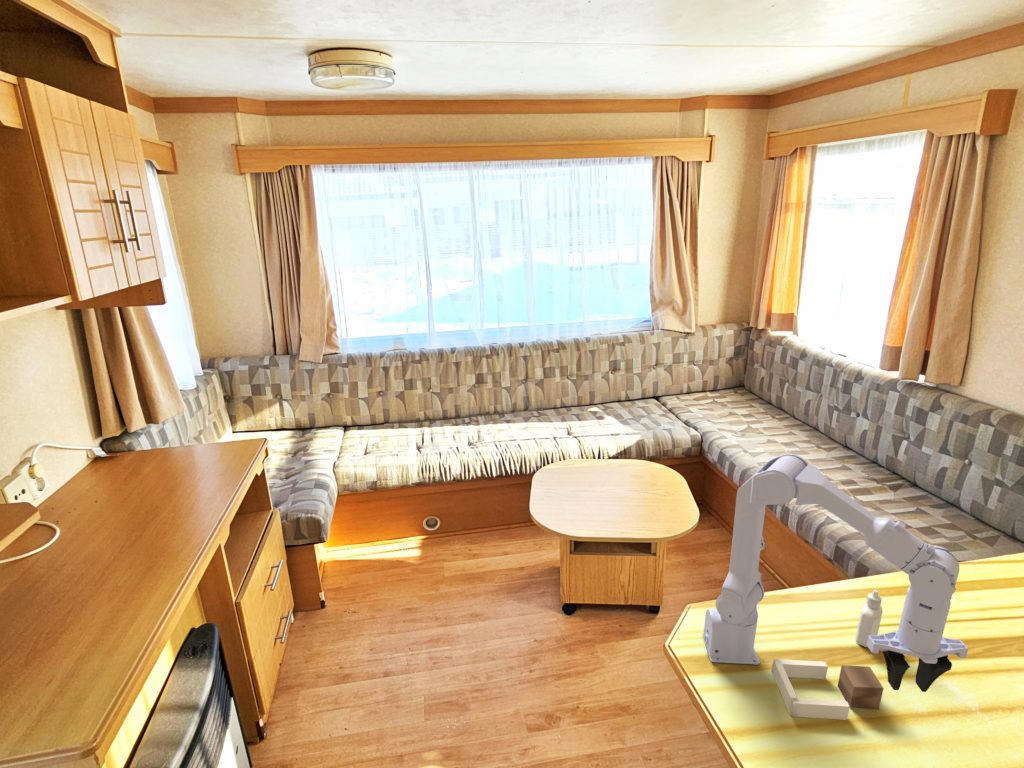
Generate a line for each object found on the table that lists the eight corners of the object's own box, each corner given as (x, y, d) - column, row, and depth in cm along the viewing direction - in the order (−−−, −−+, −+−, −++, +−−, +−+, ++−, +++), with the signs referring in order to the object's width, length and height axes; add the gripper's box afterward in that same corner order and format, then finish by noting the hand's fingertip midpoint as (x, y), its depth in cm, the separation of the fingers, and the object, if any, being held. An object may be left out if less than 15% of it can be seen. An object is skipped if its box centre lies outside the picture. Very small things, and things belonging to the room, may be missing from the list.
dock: (790, 716, 105) (793, 703, 104) (771, 671, 114) (773, 658, 114) (847, 719, 104) (849, 706, 103) (822, 674, 114) (825, 661, 113)
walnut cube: (849, 708, 106) (854, 686, 105) (837, 686, 111) (841, 665, 109) (878, 710, 106) (883, 688, 104) (865, 687, 110) (869, 666, 109)
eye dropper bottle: (885, 644, 121) (896, 595, 117) (862, 649, 120) (873, 600, 116) (868, 629, 125) (878, 582, 121) (846, 634, 124) (855, 586, 120)
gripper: (888, 635, 92) (873, 703, 96) (987, 640, 90) (967, 708, 94) (866, 604, 98) (853, 669, 102) (958, 609, 97) (941, 674, 101)
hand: (906, 686), depth 99 cm, fingers open, 4 cm apart
